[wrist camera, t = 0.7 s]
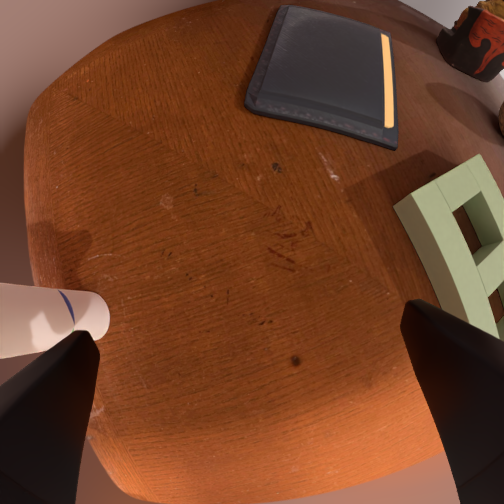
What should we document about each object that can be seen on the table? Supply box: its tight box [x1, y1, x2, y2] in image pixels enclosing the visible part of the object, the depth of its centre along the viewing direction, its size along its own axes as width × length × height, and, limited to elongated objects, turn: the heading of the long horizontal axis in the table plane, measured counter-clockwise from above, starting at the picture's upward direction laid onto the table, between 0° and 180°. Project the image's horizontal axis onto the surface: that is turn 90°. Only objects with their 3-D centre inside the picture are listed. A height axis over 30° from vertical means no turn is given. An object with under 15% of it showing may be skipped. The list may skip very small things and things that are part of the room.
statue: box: [432, 0, 504, 82], centre depth 17 cm, size 12×8×20 cm, turn 83°
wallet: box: [244, 5, 398, 151], centre depth 25 cm, size 20×2×15 cm
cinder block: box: [393, 154, 504, 341], centre depth 20 cm, size 11×19×4 cm, turn 27°
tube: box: [0, 283, 110, 359], centre depth 14 cm, size 4×4×15 cm
